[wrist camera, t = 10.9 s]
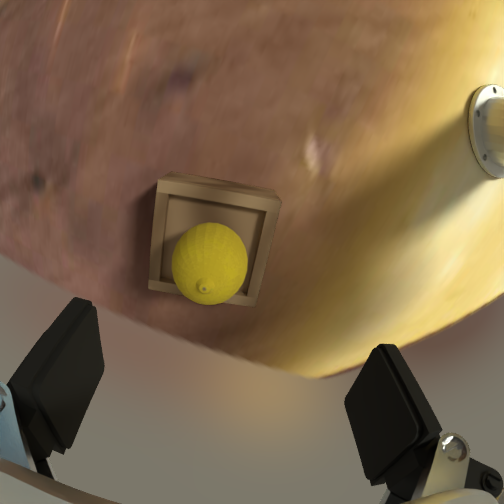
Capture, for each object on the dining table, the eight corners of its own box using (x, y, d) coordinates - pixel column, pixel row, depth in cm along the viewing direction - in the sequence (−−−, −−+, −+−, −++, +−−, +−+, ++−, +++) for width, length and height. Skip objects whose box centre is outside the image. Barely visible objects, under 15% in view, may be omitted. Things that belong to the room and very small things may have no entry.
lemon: (191, 202, 24) (172, 234, 16) (255, 223, 25) (263, 263, 17) (175, 260, 26) (153, 311, 18) (233, 279, 27) (233, 334, 19)
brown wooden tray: (274, 190, 28) (281, 201, 23) (252, 281, 32) (255, 307, 27) (171, 171, 27) (158, 179, 22) (160, 265, 30) (148, 288, 26)
